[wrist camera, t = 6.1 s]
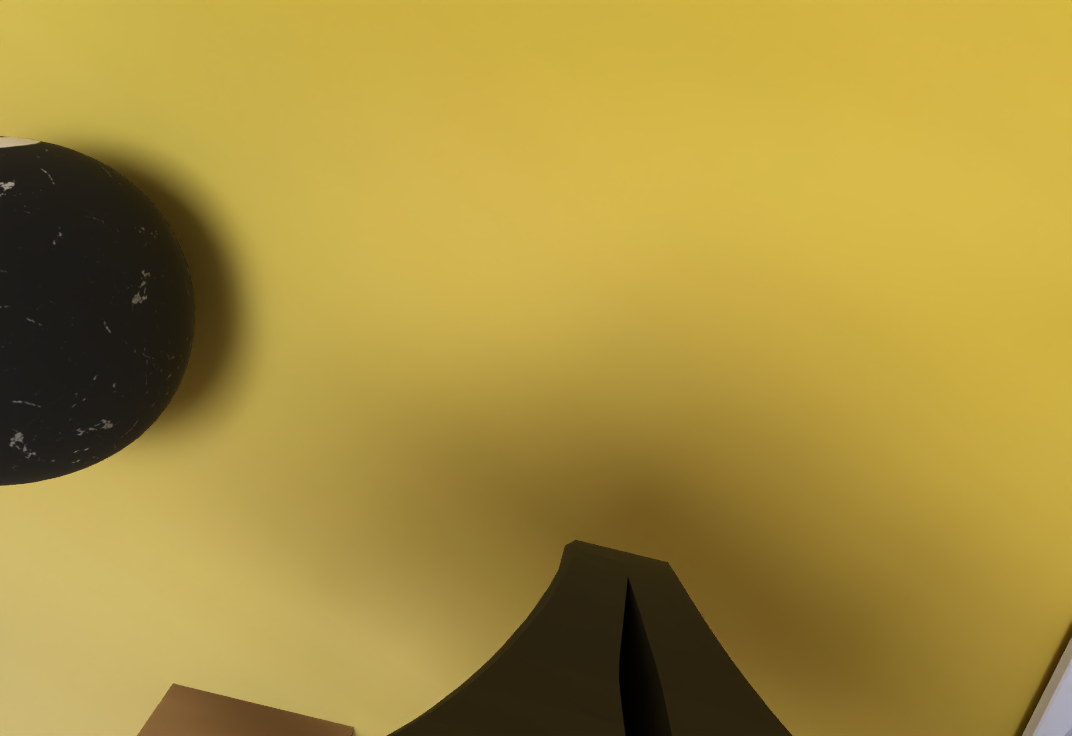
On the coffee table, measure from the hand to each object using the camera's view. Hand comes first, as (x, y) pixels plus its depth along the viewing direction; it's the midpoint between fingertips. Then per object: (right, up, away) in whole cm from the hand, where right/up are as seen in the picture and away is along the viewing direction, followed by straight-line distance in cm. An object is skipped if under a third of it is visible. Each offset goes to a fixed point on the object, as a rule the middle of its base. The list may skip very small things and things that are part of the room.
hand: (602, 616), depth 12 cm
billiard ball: (-10, +5, +7) cm, 13 cm away
